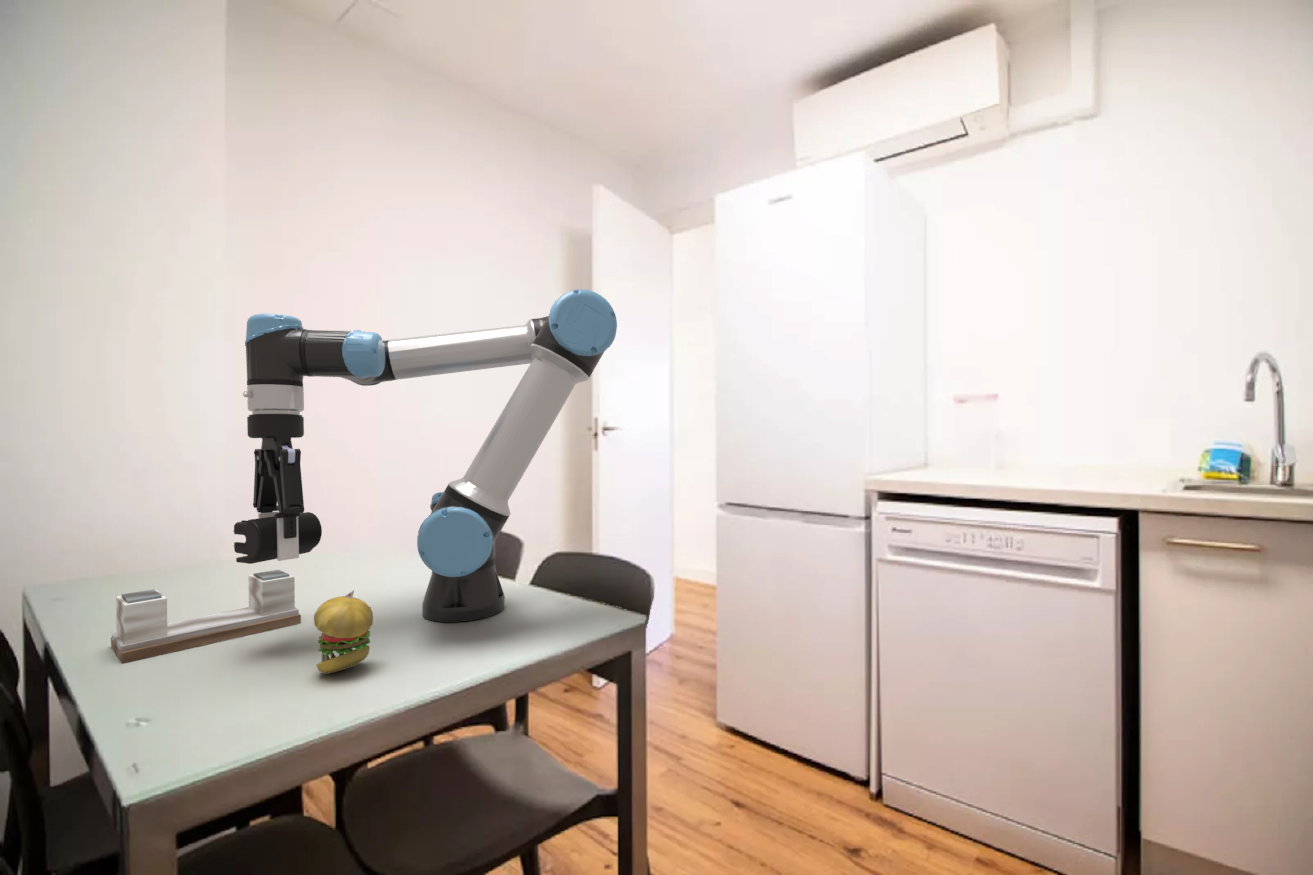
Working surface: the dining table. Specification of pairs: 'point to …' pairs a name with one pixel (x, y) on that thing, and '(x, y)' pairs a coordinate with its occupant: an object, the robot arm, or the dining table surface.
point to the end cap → (273, 537)
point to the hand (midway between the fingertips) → (278, 555)
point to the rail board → (200, 619)
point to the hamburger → (343, 632)
